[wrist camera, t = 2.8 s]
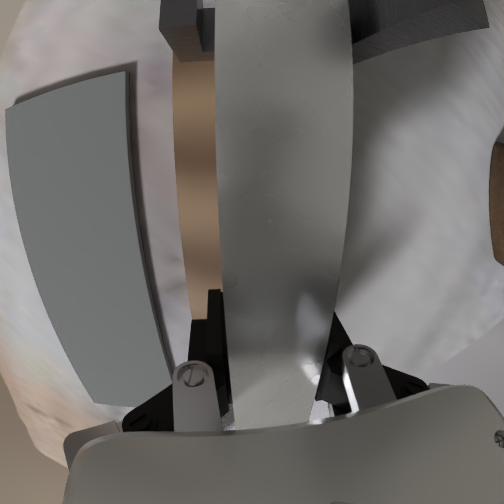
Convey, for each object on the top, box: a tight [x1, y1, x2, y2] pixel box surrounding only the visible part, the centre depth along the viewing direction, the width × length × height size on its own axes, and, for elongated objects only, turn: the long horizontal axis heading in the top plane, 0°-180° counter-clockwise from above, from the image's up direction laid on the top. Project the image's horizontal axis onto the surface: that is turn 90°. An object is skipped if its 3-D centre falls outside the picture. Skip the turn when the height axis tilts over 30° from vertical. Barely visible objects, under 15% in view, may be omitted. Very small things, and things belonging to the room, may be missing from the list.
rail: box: [215, 0, 353, 430], centre depth 10 cm, size 27×3×2 cm, turn 0°
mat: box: [5, 71, 173, 407], centre depth 19 cm, size 29×10×1 cm, turn 0°
